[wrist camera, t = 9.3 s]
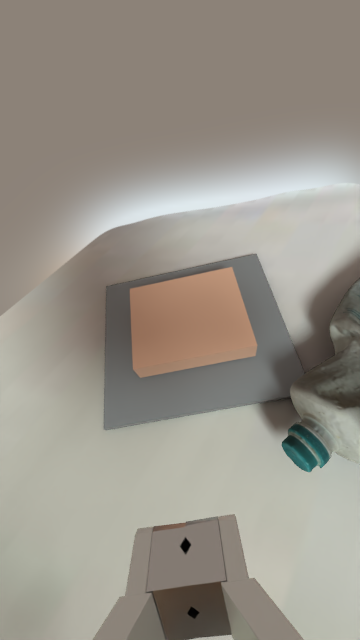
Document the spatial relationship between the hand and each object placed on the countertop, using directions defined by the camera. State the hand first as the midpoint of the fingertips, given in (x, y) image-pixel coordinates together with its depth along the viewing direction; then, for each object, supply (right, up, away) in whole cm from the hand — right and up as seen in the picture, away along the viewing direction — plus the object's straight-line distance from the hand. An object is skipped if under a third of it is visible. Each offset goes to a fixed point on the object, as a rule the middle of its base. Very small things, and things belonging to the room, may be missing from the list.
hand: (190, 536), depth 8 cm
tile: (+1, +2, +18) cm, 18 cm away
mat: (+1, +5, +22) cm, 23 cm away
